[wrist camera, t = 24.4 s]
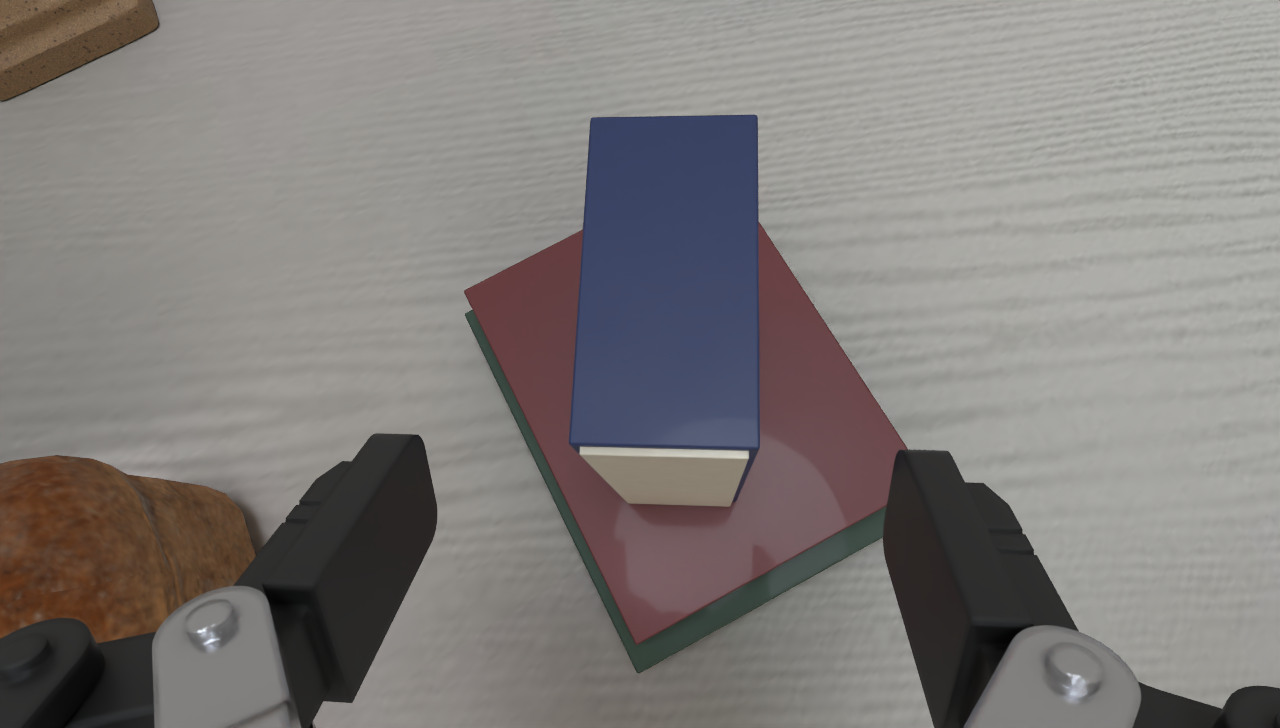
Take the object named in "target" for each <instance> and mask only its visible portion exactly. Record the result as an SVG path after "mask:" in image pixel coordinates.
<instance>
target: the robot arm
mask: <svg viewBox="0 0 1280 728" xmlns="http://www.w3.org/2000/svg"><path fill="white" fill-rule="evenodd" d="M436 524H437V504H436V499H435V494H434V489H433V484H432V479H431V475H430V470H429V465H428V460H427V455H426V450H425V446H424V442H423V440H422V438H421V437H420V436H419V435H412V434H373V435H372V436H371V437H370V438H369V439H368V440H367V442H366V443H365V444H364V446H363V447H362V448H361V450H360V451H359V453H358V454H357V455H356V457H355V458H354V459H353V461H352V462H349V461H342V462H340V463H339V464H338V465H336V466H335V467H333V468H332V469H330V470H329V471H328V472H326V473H325V474H323V475H322V476H320V477H319V478H318V479H316V480H315V482H314V483H313V484H312V485H311V487H310V488H309V489H308V491H307V492H306V493H305V494H304V496H303V497H302V498H301V500H300V504H299V505H296V506H295V507H294V508H293V510H292V511H291V512H290V514H289V515H288V516H287V517H286V522H285V523H282V524H281V525H280V526H279V528H278V529H277V530H276V531H275V533H274V534H273V535H272V537H271V538H270V539H269V540H268V542H267V543H266V544H265V546H264V547H263V548H262V549H261V551H260V552H259V553H258V555H257V556H256V557H255V558H254V560H253V561H252V562H251V563H250V565H249V566H248V567H247V569H246V570H245V571H244V572H243V574H242V575H241V576H240V578H239V579H238V580H237V581H236V583H235V584H234V585H233V586H229V587H223V588H219V589H215V590H212V591H209V592H206V593H204V594H202V595H199V596H197V597H195V598H193V599H192V600H190V601H188V602H186V603H185V604H183V605H182V606H180V607H179V608H178V609H177V610H175V611H174V612H173V613H172V614H171V615H170V616H169V617H168V618H167V619H166V620H165V621H164V622H163V623H162V624H161V626H160V627H159V629H158V630H157V631H156V632H151V633H146V634H141V635H136V636H131V637H127V638H122V639H117V640H112V641H107V642H102V643H96V641H95V639H94V637H93V635H92V634H91V632H90V630H89V628H88V627H87V626H86V624H85V623H83V622H81V621H80V620H77V619H73V618H55V619H49V620H44V621H41V622H37V623H34V624H31V625H28V626H26V627H23V628H21V629H19V630H16V631H14V632H12V633H10V634H8V635H7V636H5V637H3V638H1V639H0V728H316V727H315V724H314V722H313V719H314V718H315V716H316V714H317V712H318V710H319V708H320V706H321V704H322V703H323V701H331V702H346V703H352V702H353V700H354V698H355V696H356V694H357V692H358V690H359V688H360V686H361V684H362V682H363V680H364V678H365V676H366V674H367V672H368V670H369V668H370V666H371V664H372V662H373V660H374V658H375V656H376V654H377V652H378V650H379V648H380V646H381V644H382V642H383V639H384V637H385V635H386V633H387V631H388V629H389V627H390V625H391V623H392V621H393V619H394V617H395V615H396V613H397V611H398V609H399V607H400V605H401V603H402V601H403V599H404V597H405V595H406V593H407V591H408V589H409V587H410V585H411V583H412V581H413V579H414V577H415V575H416V573H417V571H418V569H419V567H420V565H421V563H422V561H423V558H424V556H425V554H426V552H427V550H428V548H429V546H430V544H431V542H432V540H433V537H434V534H435V530H436ZM883 545H884V554H885V559H886V563H887V567H888V570H889V574H890V577H891V581H892V584H893V587H894V591H895V594H896V598H897V601H898V605H899V608H900V611H901V615H902V618H903V622H904V625H905V629H906V632H907V635H908V639H909V642H910V646H911V649H912V653H913V656H914V659H915V663H916V666H917V670H918V673H919V677H920V680H921V683H922V687H923V690H924V694H925V697H926V701H927V704H928V707H929V711H930V714H931V718H932V721H933V725H934V728H1280V688H1274V687H1268V686H1250V687H1244V688H1242V689H1239V690H1237V691H1235V692H1234V693H1232V694H1231V696H1230V697H1229V698H1228V700H1227V702H1226V704H1225V705H1224V707H1223V709H1221V708H1218V707H1214V706H1211V705H1208V704H1204V703H1201V702H1198V701H1194V700H1191V699H1187V698H1184V697H1181V696H1177V695H1174V694H1171V693H1167V692H1164V691H1161V690H1158V689H1155V688H1152V687H1149V686H1147V685H1145V684H1142V683H1140V682H1138V681H1137V679H1136V677H1135V675H1134V673H1133V672H1132V671H1131V669H1130V668H1129V667H1128V665H1127V664H1126V663H1125V662H1124V661H1123V660H1122V659H1121V658H1120V657H1119V656H1118V655H1117V654H1116V653H1115V652H1113V651H1112V650H1111V649H1110V648H1108V647H1107V646H1105V645H1104V644H1102V643H1101V642H1099V641H1097V640H1095V639H1094V638H1092V637H1090V636H1088V635H1085V634H1083V633H1081V632H1079V631H1078V629H1077V627H1076V625H1075V624H1074V622H1073V620H1072V618H1071V616H1070V615H1069V613H1068V611H1067V609H1066V607H1065V606H1064V604H1063V602H1062V600H1061V598H1060V597H1059V595H1058V593H1057V591H1056V589H1055V587H1054V586H1053V584H1052V582H1051V580H1050V578H1049V577H1048V575H1047V573H1046V571H1045V569H1044V568H1043V566H1042V564H1041V562H1040V560H1039V559H1038V557H1037V555H1034V549H1033V548H1032V546H1031V544H1030V542H1029V540H1028V539H1027V537H1026V535H1025V534H1023V533H1022V528H1021V526H1020V524H1019V522H1018V521H1017V519H1016V517H1015V515H1014V513H1013V511H1012V510H1011V508H1010V506H1009V505H1008V504H1007V503H1006V502H1005V501H1004V500H1003V499H1001V498H1000V497H999V496H998V495H997V494H996V493H994V492H993V491H992V490H991V489H990V488H989V487H987V486H986V485H985V484H984V483H965V482H964V480H963V478H962V476H961V474H960V472H959V470H958V468H957V466H956V464H955V462H954V460H953V457H952V456H951V454H950V453H949V452H948V451H935V450H899V451H898V452H897V454H896V457H895V461H894V467H893V472H892V478H891V484H890V490H889V496H888V502H887V507H886V513H885V519H884V527H883Z"/></svg>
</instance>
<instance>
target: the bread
mask: <svg viewBox="0 0 1280 728" xmlns="http://www.w3.org/2000/svg"><path fill="white" fill-rule="evenodd" d="M255 557H256V555H255V551H254V548H253V545H252V542H251V539H250V535H249V532H248V529H247V526H246V523H245V520H244V517H243V514H242V511H241V510H240V509H239V508H238V507H237V506H236V505H235V504H234V502H233V501H232V500H231V499H230V498H229V497H228V496H227V495H226V494H225V493H222V492H220V491H217V490H214V489H212V488H209V487H206V486H200V485H194V484H188V483H182V482H175V481H169V480H163V479H157V478H149V477H141V476H133V475H127V474H125V473H123V472H122V471H120V470H118V469H116V468H114V467H113V466H111V465H108V464H105V463H102V462H100V461H97V460H94V459H89V458H79V457H69V456H59V455H55V456H47V457H39V458H31V459H23V460H15V461H9V462H5V463H2V464H0V639H1V638H3V637H5V636H7V635H8V634H10V633H12V632H14V631H16V630H19V629H21V628H23V627H26V626H28V625H31V624H34V623H37V622H41V621H44V620H49V619H55V618H73V619H77V620H80V621H81V622H83V623H85V624H86V626H87V627H88V628H89V630H90V632H91V634H92V635H93V637H94V639H95V641H96V643H102V642H107V641H112V640H117V639H122V638H127V637H131V636H136V635H141V634H146V633H151V632H156V631H157V630H158V629H159V627H160V626H161V624H162V623H163V622H164V621H165V620H166V619H167V618H168V617H169V616H170V615H171V614H172V613H173V612H174V611H175V610H177V609H178V608H179V607H180V606H182V605H183V604H185V603H186V602H188V601H190V600H192V599H193V598H195V597H197V596H199V595H202V594H204V593H206V592H209V591H212V590H215V589H219V588H223V587H229V586H233V585H234V584H235V583H236V581H237V580H238V579H239V578H240V576H241V575H242V574H243V572H244V571H245V570H246V569H247V567H248V566H249V565H250V563H251V562H252V561H253V560H254V558H255Z"/></svg>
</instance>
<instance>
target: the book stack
mask: <svg viewBox="0 0 1280 728" xmlns="http://www.w3.org/2000/svg"><path fill="white" fill-rule="evenodd" d="M758 231H759V360H760V448H759V451H758V453H757V455H756V458H755V460H754V462H753V464H752V467H751V469H750V471H749V474H748V476H747V478H746V480H745V483H744V485H743V487H742V490H741V492H740V494H739V497H738V499H737V501H736V502H732V503H731V506H730V507H724V506H693V505H661V504H630V503H627V502H626V501H625V500H624V499H623V498H622V497H621V496H620V495H619V494H618V493H617V492H616V491H615V490H614V489H613V488H612V487H611V486H610V485H609V484H608V483H607V482H606V481H605V480H604V479H603V478H602V477H601V476H600V475H599V474H598V473H597V472H596V471H595V470H594V469H593V468H592V467H591V466H590V465H589V464H588V463H587V462H586V461H585V460H584V459H583V458H582V457H581V456H580V455H579V454H578V453H577V452H576V451H575V450H574V449H573V448H572V447H571V446H570V445H569V429H570V415H571V400H572V385H573V370H574V356H575V341H576V326H577V312H578V297H579V282H580V267H581V253H582V238H583V230H581V231H579V232H577V233H575V234H574V235H572V236H570V237H568V238H566V239H564V240H562V241H560V242H558V243H556V244H554V245H552V246H550V247H548V248H546V249H544V250H542V251H540V252H538V253H537V254H535V255H533V256H531V257H529V258H527V259H525V260H523V261H521V262H519V263H517V264H515V265H513V266H511V267H509V268H507V269H505V270H503V271H501V272H500V273H498V274H496V275H494V276H492V277H490V278H488V279H486V280H484V281H482V282H480V283H478V284H476V285H474V286H472V287H470V288H468V289H466V290H465V291H464V293H465V295H466V297H467V299H468V301H469V303H470V305H471V307H472V309H473V310H471V311H469V312H467V313H465V316H466V318H467V321H468V323H469V325H470V327H471V329H472V331H473V333H474V335H475V337H476V339H477V341H478V343H479V346H480V348H481V350H482V352H483V354H484V356H485V358H486V360H487V362H488V364H489V366H490V368H491V370H492V373H493V375H494V377H495V379H496V381H497V383H498V385H499V387H500V389H501V391H502V393H503V395H504V397H505V400H506V402H507V404H508V406H509V408H510V410H511V412H512V414H513V416H514V418H515V420H516V422H517V424H518V427H519V429H520V431H521V433H522V435H523V437H524V439H525V441H526V443H527V445H528V447H529V449H530V451H531V454H532V456H533V458H534V460H535V462H536V464H537V466H538V468H539V470H540V472H541V474H542V476H543V478H544V481H545V483H546V485H547V487H548V489H549V491H550V493H551V495H552V497H553V499H554V501H555V503H556V505H557V508H558V510H559V512H560V514H561V516H562V518H563V520H564V522H565V524H566V526H567V528H568V530H569V532H570V535H571V537H572V539H573V541H574V543H575V545H576V547H577V549H578V551H579V553H580V555H581V557H582V559H583V562H584V564H585V566H586V568H587V570H588V572H589V574H590V576H591V578H592V580H593V582H594V584H595V586H596V589H597V591H598V593H599V595H600V597H601V599H602V601H603V603H604V605H605V607H606V609H607V611H608V614H609V616H610V618H611V620H612V622H613V624H614V626H615V628H616V630H617V632H618V634H619V636H620V638H621V641H622V643H623V645H624V647H625V649H626V651H627V653H628V655H629V657H630V659H631V661H632V663H633V665H634V668H635V670H636V672H637V673H641V672H643V671H644V670H646V669H648V668H650V667H652V666H653V665H655V664H657V663H659V662H660V661H662V660H664V659H666V658H668V657H669V656H671V655H673V654H675V653H677V652H678V651H680V650H682V649H684V648H685V647H687V646H689V645H691V644H693V643H694V642H696V641H698V640H700V639H702V638H703V637H705V636H707V635H709V634H710V633H712V632H714V631H716V630H718V629H719V628H721V627H723V626H725V625H727V624H728V623H730V622H732V621H734V620H736V619H737V618H739V617H741V616H743V615H744V614H746V613H748V612H750V611H752V610H753V609H755V608H757V607H759V606H761V605H762V604H764V603H766V602H768V601H769V600H771V599H773V598H775V597H777V596H778V595H780V594H782V593H784V592H786V591H787V590H789V589H791V588H793V587H794V586H796V585H798V584H800V583H802V582H803V581H805V580H807V579H809V578H811V577H812V576H814V575H816V574H818V573H819V572H821V571H823V570H825V569H827V568H828V567H830V566H832V565H834V564H836V563H837V562H839V561H841V560H843V559H844V558H846V557H848V556H850V555H852V554H853V553H855V552H857V551H859V550H861V549H862V548H864V547H866V546H868V545H869V544H871V543H873V542H875V541H877V540H878V539H880V538H882V537H883V527H884V519H885V513H886V507H887V502H888V496H889V490H890V484H891V478H892V472H893V467H894V461H895V457H896V454H897V452H898V451H899V450H908V449H907V447H906V446H905V444H904V442H903V441H902V439H901V438H900V436H899V435H898V433H897V432H896V430H895V429H894V427H893V426H892V424H891V423H890V421H889V420H888V418H887V417H886V415H885V413H884V412H883V410H882V409H881V407H880V406H879V404H878V403H877V401H876V400H875V398H874V397H873V395H872V394H871V392H870V391H869V389H868V388H867V386H866V384H865V383H864V381H863V380H862V378H861V377H860V375H859V374H858V372H857V371H856V369H855V368H854V366H853V365H852V363H851V362H850V360H849V359H848V357H847V356H846V354H845V352H844V351H843V349H842V348H841V346H840V345H839V343H838V342H837V340H836V339H835V337H834V336H833V334H832V333H831V331H830V330H829V328H828V327H827V325H826V323H825V322H824V320H823V319H822V317H821V316H820V314H819V313H818V311H817V310H816V308H815V307H814V305H813V304H812V302H811V301H810V299H809V298H808V296H807V294H806V293H805V291H804V290H803V288H802V287H801V285H800V284H799V282H798V281H797V279H796V278H795V276H794V275H793V273H792V272H791V270H790V269H789V267H788V266H787V264H786V262H785V261H784V259H783V258H782V256H781V255H780V253H779V252H778V250H777V249H776V247H775V246H774V244H773V243H772V241H771V240H770V238H769V237H768V235H767V233H766V232H765V230H764V229H763V227H762V226H761V224H760V223H759V221H758Z"/></svg>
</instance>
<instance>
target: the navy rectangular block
mask: <svg viewBox="0 0 1280 728" xmlns="http://www.w3.org/2000/svg"><path fill="white" fill-rule="evenodd" d="M569 445H570V446H571V447H572V448H573V449H574V450H575V451H576V452H577V453H578V454H579V455H580V456H581V457H582V458H583V459H584V460H585V461H586V462H587V463H588V464H589V465H590V466H591V467H592V468H593V469H594V470H595V471H596V472H597V473H598V474H599V475H600V476H601V477H602V478H603V479H604V480H605V481H606V482H607V483H608V484H609V485H610V486H611V487H612V488H613V489H614V490H615V491H616V492H617V493H618V494H619V495H620V496H621V497H622V498H623V499H624V500H625V501H626V502H627V503H630V504H661V505H693V506H724V507H730V506H731V503H732V502H736V501H737V499H738V497H739V494H740V492H741V490H742V487H743V485H744V483H745V480H746V478H747V476H748V474H749V471H750V469H751V467H752V464H753V462H754V460H755V458H756V455H757V453H758V451H759V448H760V360H759V231H758V118H757V115H714V116H655V117H596V118H591V121H590V135H589V149H588V164H587V179H586V194H585V208H584V223H583V238H582V253H581V267H580V282H579V297H578V312H577V326H576V341H575V356H574V370H573V385H572V400H571V415H570V429H569Z"/></svg>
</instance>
